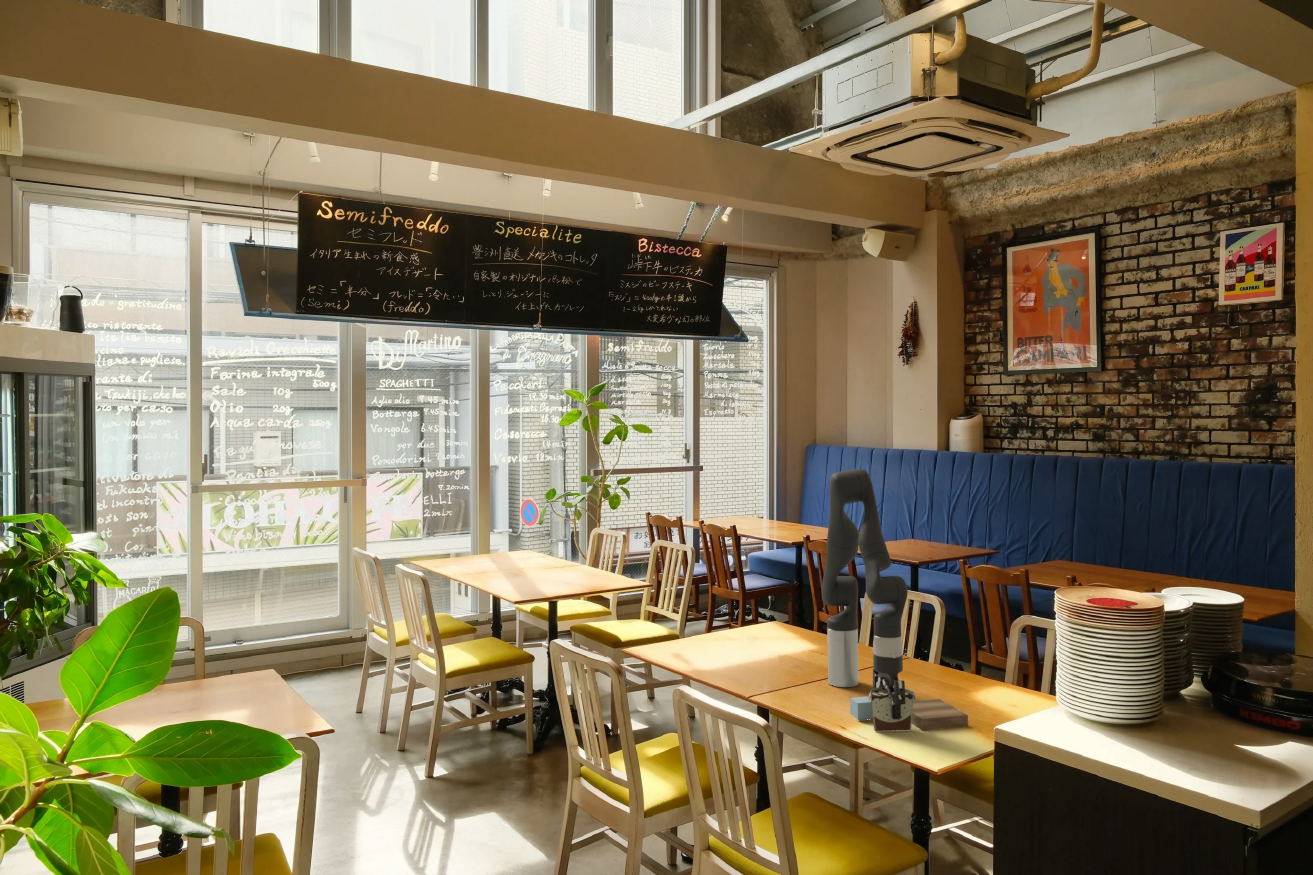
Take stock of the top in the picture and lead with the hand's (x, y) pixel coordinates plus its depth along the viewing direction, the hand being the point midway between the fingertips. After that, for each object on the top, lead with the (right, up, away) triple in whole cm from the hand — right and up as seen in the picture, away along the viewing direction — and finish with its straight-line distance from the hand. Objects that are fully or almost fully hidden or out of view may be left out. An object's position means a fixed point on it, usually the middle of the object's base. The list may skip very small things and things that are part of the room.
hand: (888, 714), depth 234 cm
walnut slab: (+13, -3, +6) cm, 14 cm away
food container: (0, -4, 0) cm, 4 cm away
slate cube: (-5, -4, +8) cm, 10 cm away
